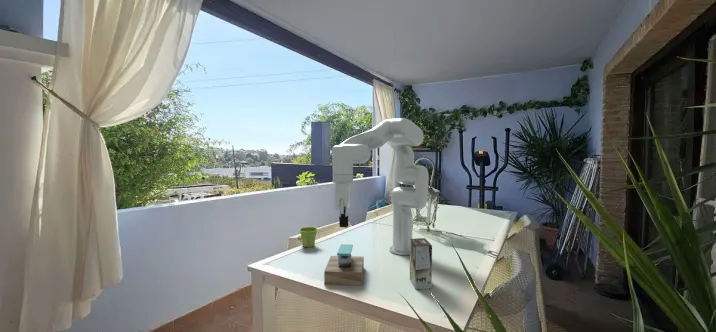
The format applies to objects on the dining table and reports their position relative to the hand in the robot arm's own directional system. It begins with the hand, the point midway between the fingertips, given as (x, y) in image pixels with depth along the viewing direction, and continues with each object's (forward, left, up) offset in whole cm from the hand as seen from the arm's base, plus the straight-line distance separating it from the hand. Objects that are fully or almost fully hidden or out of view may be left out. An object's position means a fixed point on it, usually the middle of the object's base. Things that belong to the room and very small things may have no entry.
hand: (344, 226), depth 115 cm
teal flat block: (0, -6, -12) cm, 13 cm away
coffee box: (-29, -1, -22) cm, 36 cm away
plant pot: (+23, -41, -22) cm, 52 cm away
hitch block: (0, -6, -22) cm, 22 cm away
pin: (0, -4, -21) cm, 22 cm away
